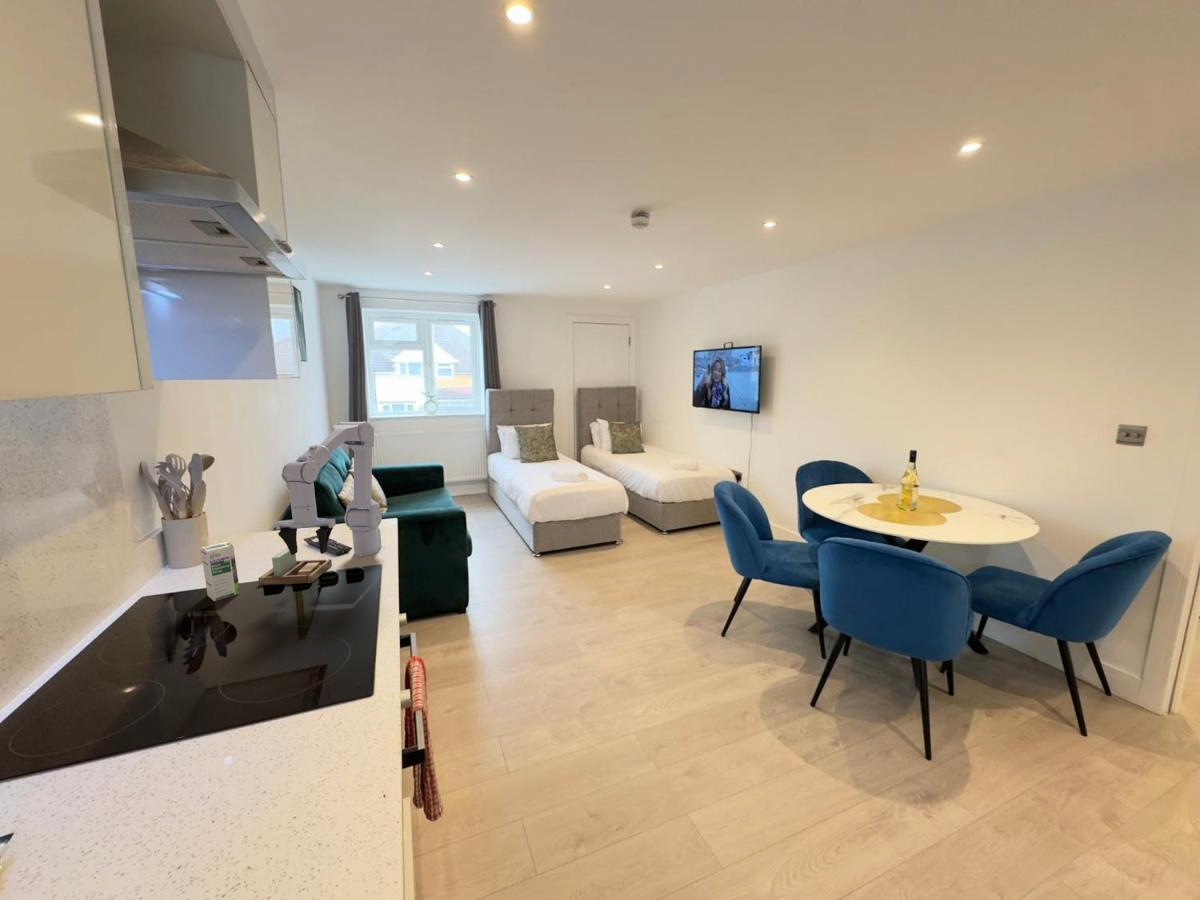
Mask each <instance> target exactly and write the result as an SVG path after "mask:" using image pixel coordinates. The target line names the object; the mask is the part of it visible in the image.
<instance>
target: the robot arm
mask: <svg viewBox="0 0 1200 900" xmlns="http://www.w3.org/2000/svg"><path fill="white" fill-rule="evenodd" d="M331 429H332V432H331V433H330V434H329V435H328V436H326V438H325V439H324V440H323V441H322V442H321V443H320V444H312V445H310V446H308V449H307V450H305V452H304V453H303V454H302V455H300V456H298V458H297V459H296V460H295V461H289V462H287V464H285V465H284V466H283V468H282V472H281V479H282V480H283V481H284V482H285V485H286V486H285V487H286V488H287V490H289V491H288V492H289V498H290V509H291V515H292V519H286V520H285V519H284V520H278V521H276V522H275V523H274V525H275V530H277V531H279V532H277V534H278V536H279V538H281V539H282V540H283V542H284V543H285V545H286V547H287V548H288V549H289V551H290V553H291V555H294V554H298V540H297V533H298V532H297V531H298V529H310V528H314V529H315V528H317V529H316V530H315V533H316V536H317V539H318V543H319V552H320V554H322V555H323V554H325V553H326V552H327V551H328V549H327V548H328V544H329V538H330V536H331V533H332V531H333V530H334V527H336V524H337V523H336V519H335V518H323V517H318V512H317V511H318V510H317V509H318V508H317V502H316V495H315V493H316V491H315V485H314V482H315V481H316V480H317V478H318V475H319V473H320V471H321V468H322V467H324V465H325V464H327V463H328V462H329V461H330V459H331V456H332V455H331V453H332V452H334V451H335V450H336V449H338V448H339V447H340V446H342V445H344V446H346V447H348V448H350V449H351V450H352V451H353V500H351V502H349V503H348V504H347V505H346V509H345V514H344V524H345V526H346V527H348V528H349V531H351V534H352V545H353V554H354V555H355V556H357V557H358V556H359V557H363V556H364V557H365V556H370V555H374V554H376V553H377V552H379V549H385V546H384V545H383V546H382V537H381V535H382V533H381V529H380V528H379V526H380V525H381V523H382V520H383V516H382V515H383V514H382V512H381V505H380V503H378V502H377V501H375V500H374V499H373V496H372V495H373V494H372V493H373V483H372V482H373V472H372V471H373V447H374V445H375V444H374V443H375V442H374V441H375V439H374V437H375V435H374V434H375V433H374V432H375V431H374V430H375V429H374V427H373V426H372V425H371V424H370V422H368V421H338V422H337V423H335V424H334V425H333V426H332V428H331Z"/></svg>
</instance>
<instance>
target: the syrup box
mask: <svg viewBox="0 0 1200 900" xmlns="http://www.w3.org/2000/svg"><path fill="white" fill-rule="evenodd" d="M199 549H200V555H201V561H202V562H201V563H202V567H203V573H204V580H205V586H206V593H207V596H208V598H210V599H211V600H212V601H213V602H217V601H221V600H223V599H226V598H230V597H232V596H236V595H239V594H241V589H240V582H239V577H238V570H237V569H238V568H237V562H236V555H235V548H234V545H233V544H231V542H228V541H224V542H221V543H216V544H211V545H207V546H202V547H201V548H199Z"/></svg>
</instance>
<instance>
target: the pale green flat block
mask: <svg viewBox="0 0 1200 900" xmlns="http://www.w3.org/2000/svg"><path fill="white" fill-rule="evenodd" d="M296 554H297V553H296ZM296 554H294V555H291V553H290V551H289V549H288V547H287V548H285V549H283V550H281V551H280V552H278V553H277V554H275V555H274V556H272V557H271V562H272V567H273V571H274V576H283V575H284V574H286V573H287V572H288V571H290V570H291V569H292V568H294V567H295V566H297V562H296V561H297V556H296Z"/></svg>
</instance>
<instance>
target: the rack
mask: <svg viewBox="0 0 1200 900" xmlns="http://www.w3.org/2000/svg"><path fill="white" fill-rule="evenodd" d="M296 562H297V566H295V567H294V568H292V569H291V570H290V571H288V572H287V573H286V574H284V575H283V576H274V571H273V568H271V569H269V570H268V571H266V572H265V573H264V574H262V575H260V576H259V577H258V585H259V586H268V585H270V586H271V585H289V584H291V585H292V584H311V583H314V582H315V581H316V580H317V579H318V578H319V577H321V575H323V574H324V573H326V572H327V570H329V569H330V568H331V567H332V566H333V563H332V559H331V558H330V559H328V560H327V559H307V560H306V559H305V560H296ZM317 562H320V565H321V566H320V567H319V568H317V569H316V570H315V571H314V572H313V573H311V574H310V575H309V576H308V577H309V579H308V577H307V575H298V571H299V570H301V569H302V568H303V567H304V566H305V565H306V564H307V563H317Z"/></svg>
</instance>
